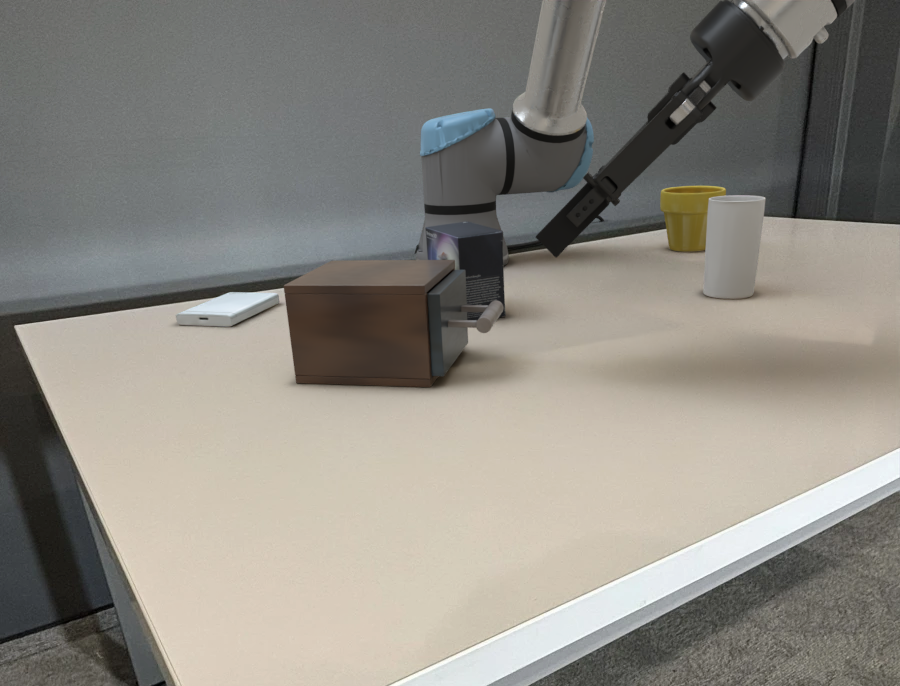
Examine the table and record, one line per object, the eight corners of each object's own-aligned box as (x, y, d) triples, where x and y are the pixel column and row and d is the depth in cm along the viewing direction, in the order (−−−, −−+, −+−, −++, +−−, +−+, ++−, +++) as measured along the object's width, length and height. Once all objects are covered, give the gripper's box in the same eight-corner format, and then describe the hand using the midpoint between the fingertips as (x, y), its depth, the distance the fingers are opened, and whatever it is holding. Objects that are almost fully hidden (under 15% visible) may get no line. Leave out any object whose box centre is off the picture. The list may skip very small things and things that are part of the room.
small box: (426, 307, 105) (422, 225, 100) (471, 300, 107) (468, 220, 103) (459, 324, 96) (455, 235, 91) (507, 316, 98) (506, 229, 94)
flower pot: (683, 256, 129) (688, 193, 125) (645, 248, 138) (648, 189, 134) (734, 249, 133) (740, 188, 129) (693, 241, 142) (697, 184, 138)
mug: (749, 301, 99) (759, 201, 95) (694, 297, 103) (702, 201, 98) (765, 285, 107) (775, 192, 102) (714, 282, 111) (722, 192, 106)
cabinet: (458, 349, 86) (455, 259, 82) (430, 387, 75) (424, 285, 71) (340, 347, 89) (331, 260, 85) (295, 383, 78) (283, 285, 74)
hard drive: (226, 291, 112) (174, 312, 101) (278, 292, 110) (230, 313, 99) (228, 303, 113) (176, 325, 102) (280, 304, 111) (232, 326, 100)
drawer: (507, 343, 84) (506, 269, 81) (488, 377, 74) (486, 294, 70) (357, 341, 87) (350, 269, 84) (319, 373, 77) (309, 293, 74)
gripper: (803, 62, 58) (568, 290, 68) (777, 67, 69) (580, 261, 80) (733, -16, 57) (506, 227, 67) (719, 3, 68) (527, 208, 79)
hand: (546, 246), depth 73 cm, fingers closed
